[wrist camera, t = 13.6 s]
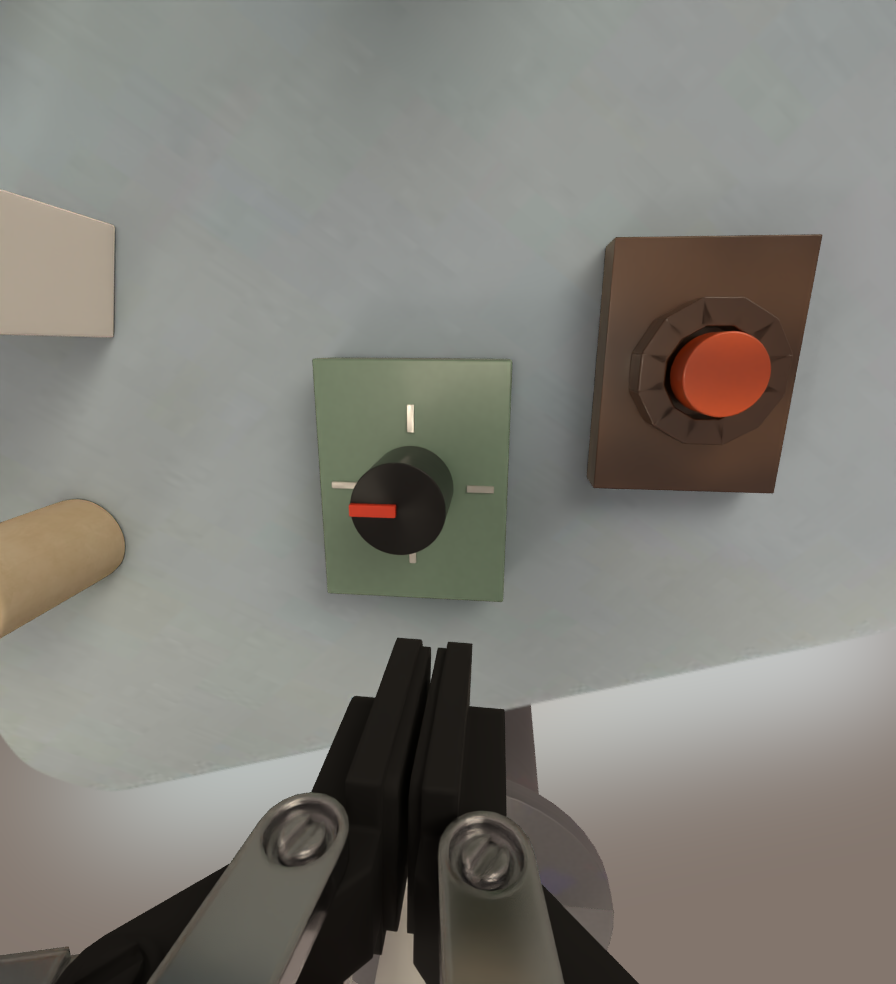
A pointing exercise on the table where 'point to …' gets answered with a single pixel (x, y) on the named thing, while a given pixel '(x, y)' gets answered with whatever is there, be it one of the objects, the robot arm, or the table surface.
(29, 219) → the milk
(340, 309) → the table surface
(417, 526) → the dial
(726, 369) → the button
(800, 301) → the switch block
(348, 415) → the dial panel
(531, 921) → the robot arm
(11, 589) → the candle
